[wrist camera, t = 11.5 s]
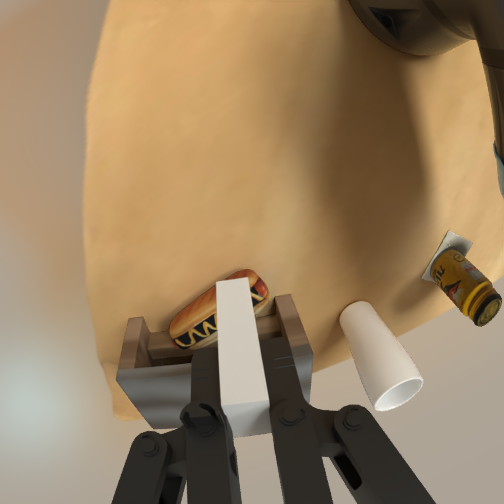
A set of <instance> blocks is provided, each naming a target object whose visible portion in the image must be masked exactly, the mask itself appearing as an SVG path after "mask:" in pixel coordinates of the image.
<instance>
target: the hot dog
mask: <svg viewBox="0 0 504 504" xmlns="http://www.w3.org/2000/svg"><path fill="white" fill-rule="evenodd" d="M246 277H248V281H249V287H250V293H251V299H252V304H253V310H254V316H255V315H256V314H258V313H259V312H260V311H261V310H262V309H263V308H264V307H265V306H266V304H267V303H268V302H269V291H268V288H267V286H266V284H265V283H264V282H263V280H262V279H261V278H260V277H259V276H258V275H257V274H256V273H255V272H254V271H252V270H250V269H245V270H242V271H239V272H237V273H235V274H233V275H232V276H230V277H228V278H227V279H225V280H232V279H239V278H246ZM225 280H223V281H225ZM170 336H171V338H172V339H173V340H172V342H173V345H174V346H175V347H176V348H177V349H183V350H184V349H190V350H197V349H200V348H203V347H205V346H207V345H209V344H211V343H213V342H215V341H217V340H218V329H217V299H216V285H215V286H214V287H212V288H211V289H210V290H208V291H207V292H205V293H204V294H203V295H201V296H200V297H198V298H197V299H196V300H195V301H193V302H192V303H191V304H190V305H188V306H187V307H186V308H185V309H183V310H182V311H181V312H180V313H179V314H177V316H176V317H175V318H174V319H173V320H172V321H171V324H170Z"/></svg>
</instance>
